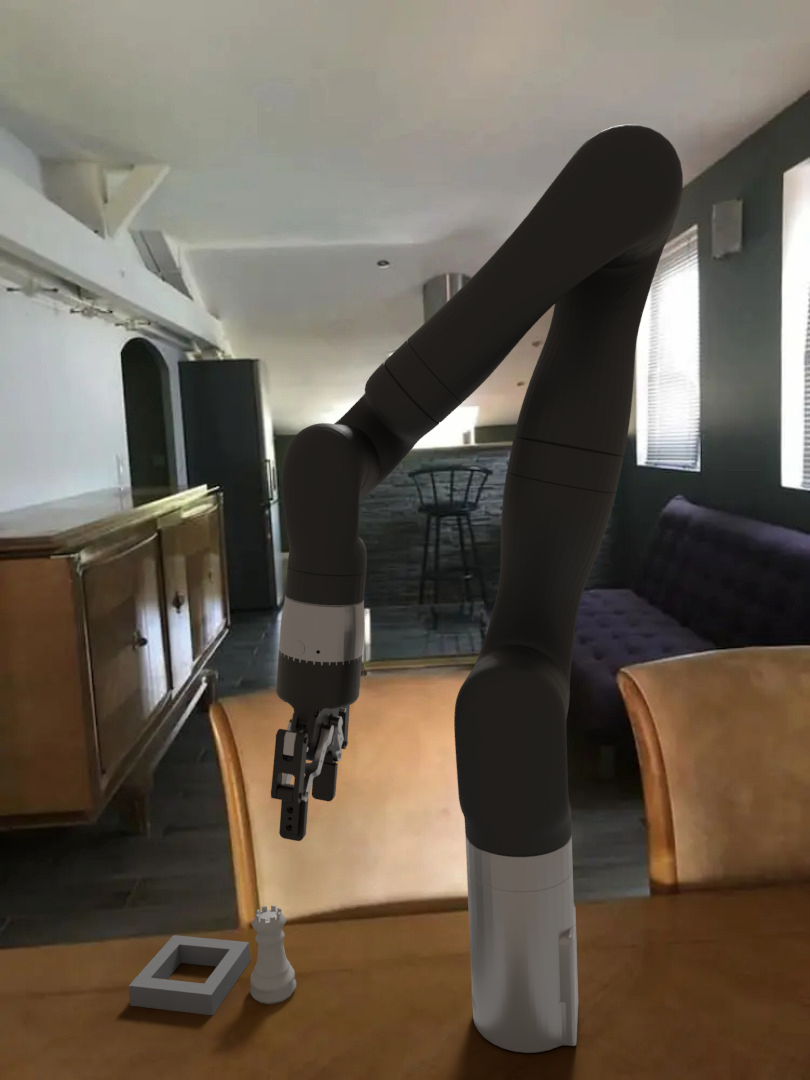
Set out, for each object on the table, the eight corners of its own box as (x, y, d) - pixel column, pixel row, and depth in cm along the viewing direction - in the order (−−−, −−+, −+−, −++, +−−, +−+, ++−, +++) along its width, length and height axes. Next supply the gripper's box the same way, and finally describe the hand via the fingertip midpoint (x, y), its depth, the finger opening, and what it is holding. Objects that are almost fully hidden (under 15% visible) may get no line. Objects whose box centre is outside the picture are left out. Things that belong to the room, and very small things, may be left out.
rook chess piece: (240, 999, 79) (234, 918, 78) (268, 972, 83) (263, 896, 82) (278, 1011, 77) (273, 929, 76) (306, 984, 81) (301, 905, 80)
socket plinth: (250, 960, 85) (249, 942, 85) (212, 1015, 77) (211, 994, 77) (175, 953, 87) (173, 935, 87) (130, 1005, 79) (128, 985, 79)
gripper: (337, 673, 67) (322, 862, 69) (381, 635, 81) (368, 793, 83) (250, 660, 69) (238, 845, 71) (308, 625, 83) (297, 780, 85)
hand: (308, 817), depth 77 cm, fingers open, 8 cm apart
